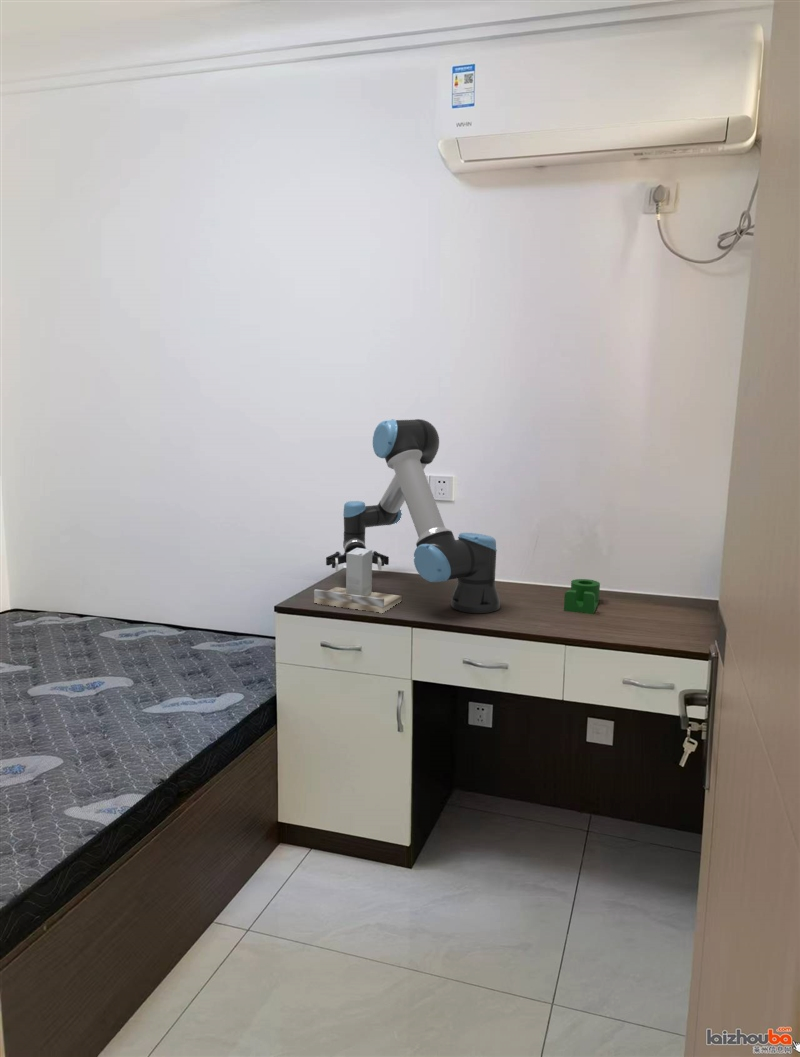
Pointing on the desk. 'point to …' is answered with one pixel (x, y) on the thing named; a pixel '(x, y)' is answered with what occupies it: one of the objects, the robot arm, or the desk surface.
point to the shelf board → (356, 600)
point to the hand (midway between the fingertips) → (358, 566)
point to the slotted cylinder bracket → (582, 596)
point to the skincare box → (359, 572)
